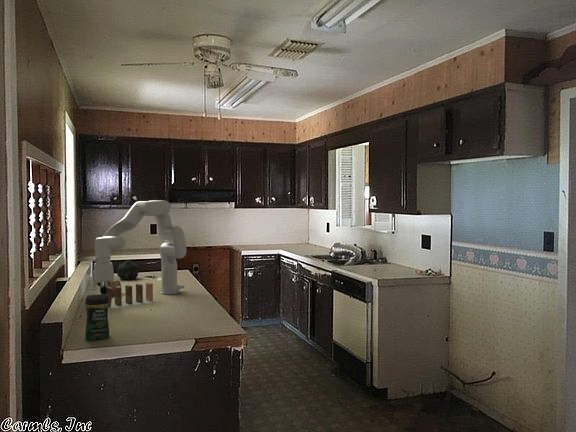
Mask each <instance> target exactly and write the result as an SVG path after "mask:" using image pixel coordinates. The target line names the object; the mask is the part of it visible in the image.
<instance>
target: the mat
mask: <svg viewBox="0 0 576 432" xmlns="http://www.w3.org/2000/svg"><path fill="white" fill-rule="evenodd" d="M159 302H160V301H159V300H155V299H154V298H153V301H150V302H149V301H147V300H146V298H143V303H138V302H136V299H134V300H133V299H132V304H127V303H126V301H122V306H117V305H115V302H113V303H112V302H111V307H108V310H111V309H117V308H123V307H124V308H125V307H131V306H137V305H138V306H139V305H145V304H146V305H147V304H152V303H159Z"/></svg>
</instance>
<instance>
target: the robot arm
mask: <svg viewBox="0 0 576 432" xmlns="http://www.w3.org/2000/svg"><path fill="white" fill-rule="evenodd" d="M171 209H172V206H171V204H170V202H169V201H167V200H161V199H160V200H157V199H154V200H153V199H151V200H148V201H147V200H145V201H144V200H143V201H142V200H141V201H140V200H139V201H136V202H135V203H134V204H133V205H132V206H131V207H130V209H129V210H128V211H127V212H126V214H125V215H124V216H123V217H122V219H120V220H119V221H118V222H115V224H113V225H111V227H109V228H108V229H107V230H106V232H105V233H104V234H103V236H102V237H100V236H99V237H96V238H95V241H94V247H95V248H94V251H95V257H94V258H92V262H94V263H93V269H92V285H97V286H98V287H99V292H100V294H106V293H107V286H108V285H109V284H110V283H112V282H114V281H115V272H114V271H115V270H114V266H113V262H111V251H119V250H122V249H123V248H125V246H126V240H125V238H123V237H122V236H121V235H122V234H125V233H127V232H130V231H132V230H134V229H135V228H137V226H138V224H139V223H140V222H141V220H142V219H143V218H144V217H154V219H155V220H156V225H157V229H158V235H159V236H158V237H159V238H160V239H161V240H162V241H165V242H162V244H161V245H160V246H159V255H160V261H161V262H160V263H161V265H160V266H161V268H160V269H161V275H160V277H161V290H159V291H158V293H159V294H161V295H176V294H177V295H178V294H179V293H180V292H181V290H180V289H182V290H183V289H185V284H184V285H179V284H178V262H177V260H176V259H182V258H184V257H185V256H186V255H187V244H186V237H185V231H184V230H183V229H182V228H181V226H178V225H173V223H172V218H171V216H170V212H171Z"/></svg>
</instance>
